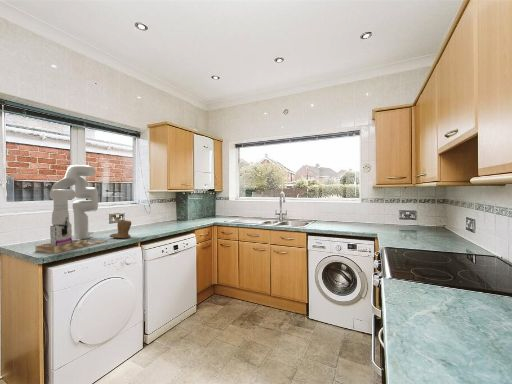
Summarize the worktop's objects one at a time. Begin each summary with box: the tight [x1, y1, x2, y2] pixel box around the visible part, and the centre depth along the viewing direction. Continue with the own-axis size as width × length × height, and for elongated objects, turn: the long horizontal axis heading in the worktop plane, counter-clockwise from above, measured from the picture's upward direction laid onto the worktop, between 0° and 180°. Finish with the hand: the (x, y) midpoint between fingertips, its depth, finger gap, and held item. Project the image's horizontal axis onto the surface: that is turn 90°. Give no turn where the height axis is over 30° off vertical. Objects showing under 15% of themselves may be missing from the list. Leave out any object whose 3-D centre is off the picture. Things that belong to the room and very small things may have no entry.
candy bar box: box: [49, 223, 73, 246], centre depth 165 cm, size 11×5×16 cm, turn 168°
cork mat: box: [88, 239, 108, 246], centre depth 182 cm, size 14×7×1 cm, turn 166°
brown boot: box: [108, 219, 132, 239], centre depth 203 cm, size 15×12×15 cm
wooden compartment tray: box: [34, 239, 89, 254], centre depth 166 cm, size 22×17×4 cm
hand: (61, 234), depth 165 cm, fingers closed on candy bar box, 5 cm apart
